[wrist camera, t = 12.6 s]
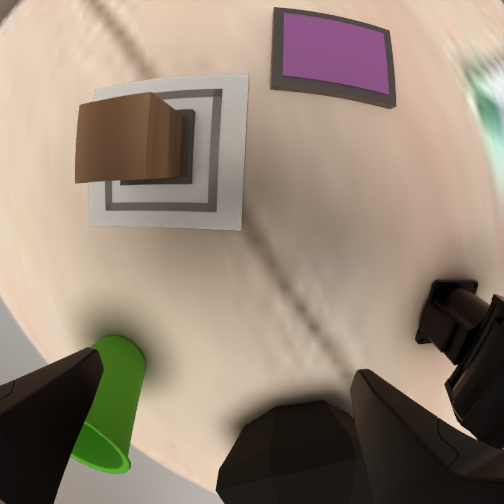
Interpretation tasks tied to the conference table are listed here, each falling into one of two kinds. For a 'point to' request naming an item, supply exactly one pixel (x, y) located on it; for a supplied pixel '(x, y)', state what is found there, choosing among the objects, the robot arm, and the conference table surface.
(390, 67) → the ink pad
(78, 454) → the cup
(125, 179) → the stamp
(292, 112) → the conference table surface
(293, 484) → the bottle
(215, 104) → the frame
